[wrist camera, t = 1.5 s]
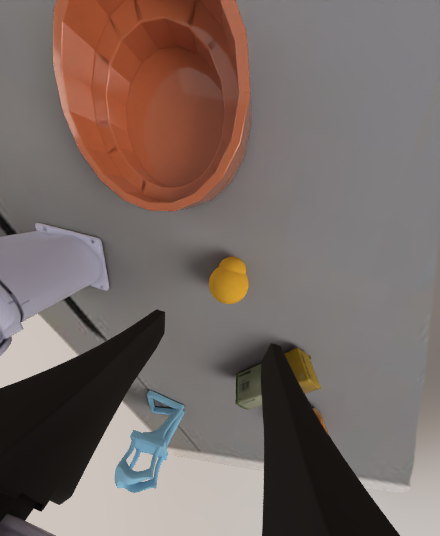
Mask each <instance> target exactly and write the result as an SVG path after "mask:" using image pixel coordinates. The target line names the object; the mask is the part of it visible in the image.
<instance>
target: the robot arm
mask: <svg viewBox="0 0 440 536" xmlns="http://www.w3.org/2000/svg"><path fill="white" fill-rule="evenodd" d="M35 227H36V230H37V231H33V232H27V233H21V234H14V235H8V236H2V237H0V356H1V355H2V354H3V353H4V352H5V351H6V349H7V348H8V347H9V345H10V344H11V341H12V337H11V336H12V335H14V334H16V333H17V332H19V331H21V330H22V329H23V327H22V325H21V322H22V321H24V320H26V319H28V318H30V317H32V316H34V315H35V314H37V313H39V312H41V311H43V310H45V309H46V308H48V307H50V306H52V305H54V304H56V303H57V302H59V301H61V300H63V299H65V298H67V297H68V296H70V295H72V294H74V293H76V292H78V291H79V290H81V289H83V288H85V287H87V286H92V287H96V288H99V289H103V290H108V289H109V282H108V276H107V270H106V264H105V258H104V252H103V247H102V241H101V240H100V239H99V238H97V237H93V236H89V235H85V234H81V233H77V232H73V231H70V230H66V229H62V228H58V227H54V226H50V225H46V224H42V223H36V224H35ZM164 330H165V312H163V311H160V310H155V311H153V312H152V313H150V314H149V315H148V316H146V317H145V318H143V319H142V320H140V321H139V322H137V323H136V324H134V325H132V326H131V327H129V328H128V329H126V330H125V331H123V332H121V333H120V334H118V335H116V336H115V337H113V338H111V339H109V340H108V341H106V342H104V343H102V344H101V345H99V346H97V347H95V348H93V349H91V350H89V351H87V352H85V353H83V354H81V355H79V356H77V357H75V358H73V359H71V360H69V361H67V362H65V363H62V364H60V365H58V366H56V367H53V368H51V369H49V370H46V371H44V372H41V373H39V374H36V375H34V376H32V377H29V378H27V379H24V380H22V381H19V382H17V383H14V384H11V385H8V386H5V387H3V388H0V536H55V535H53V534H51V533H49V532H47V531H45V530H43V529H41V528H38V527H37V526H35V525H32V524H30V523H28V522H26V521H25V520H26V518H27V517H28V516H29V514H30V513H31V511H32V510H33V509H37V510H39V511H42V510H43V509H44V508H45V506H46V505H47V503H48V502H49V500H50V501H52V502H54V503H56V504H59V505H60V504H62V503H63V502H64V501H66V500H67V499H69V498H70V497H71V496H72V494H73V493H74V490H75V488H76V486H77V484H78V482H79V480H80V479H81V477H82V475H83V473H84V471H85V469H86V467H87V465H88V463H89V461H90V459H91V457H92V455H93V453H94V451H95V449H96V447H97V446H98V444H99V442H100V440H101V438H102V436H103V434H104V432H105V430H106V429H107V427H108V425H109V423H110V421H111V420H112V418H113V416H114V414H115V412H116V411H117V409H118V407H119V405H120V403H121V402H122V400H123V398H124V397H125V395H126V393H127V391H128V390H129V388H130V386H131V385H132V383H133V382H134V380H135V379H136V377H137V376H138V374H139V373H140V371H141V370H142V368H143V367H144V366H145V364H146V363H147V361H148V360H149V358H150V357H151V355H152V354H153V352H154V351H155V349H156V348H157V346H158V344H159V342H160V340H161V338H162V337H163V335H164ZM261 394H262V408H263V422H264V500H263V529H262V536H400V535H399V534H398V532H397V531H396V530H395V528H394V527H393V526H392V524H391V523H390V522H389V520H388V519H387V518H386V516H385V515H384V514H383V512H382V511H381V510H380V509H379V507H378V506H377V504H376V503H375V502H374V500H373V499H372V498H371V496H370V495H369V494H368V492H367V491H366V489H365V488H364V486H363V485H362V484H361V482H360V481H359V479H358V478H357V476H356V475H355V473H354V472H353V471H352V469H351V468H350V466H349V465H348V463H347V462H346V461H345V459H344V458H343V456H342V455H341V453H340V452H339V450H338V449H337V447H336V446H335V444H334V443H333V441H332V440H331V438H330V436H329V435H328V433H327V432H326V430H325V428H324V427H323V425H322V424H321V422H320V420H319V419H318V417H317V415H316V413H315V412H314V410H313V408H312V406H311V405H310V403H309V401H308V399H307V398H306V396H305V394H304V392H303V390H302V388H301V386H300V384H299V382H298V380H297V379H296V377H295V375H294V373H293V371H292V368H291V366H290V364H289V362H288V360H287V358H286V356H285V354H284V352H283V349H282V347H281V346H279V345H276V344H272V343H271V344H270V346H269V348H268V350H267V352H266V354H265V356H264V358H263V360H262V362H261Z"/></svg>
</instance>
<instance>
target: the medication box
mask: <svg viewBox="0 0 440 536" xmlns="http://www.w3.org/2000/svg"><path fill="white" fill-rule="evenodd" d="M284 354H285V356H286V358H287V360H288V362H289V364H290V366H291V368H292V371H293V373H294V375H295V377H296V379H297V380H298V382H299V384H300V386H301V388H302V390H303V392H304V393H308V392H311V391H315V390H318V389H321V386H320V384H319V382H318V379H317V376H316V374H315V371H314V369H313V366H312V363H311V361H310V359H311V358H310V356H309V355H307V354H306V353H305V352H304V351H302V350H301V349H299V348H296V349H293V350H291V351H289V352H286V353H284ZM236 404H237V405H239V406H240V407H242V408H244V409H247V410H250V409H253V408H256V407H260V406H262V394H261V364H259V365H257V366H255V367H253V368H250V369H248V370H246V371H244V372H241V373H239V374H236Z"/></svg>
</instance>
